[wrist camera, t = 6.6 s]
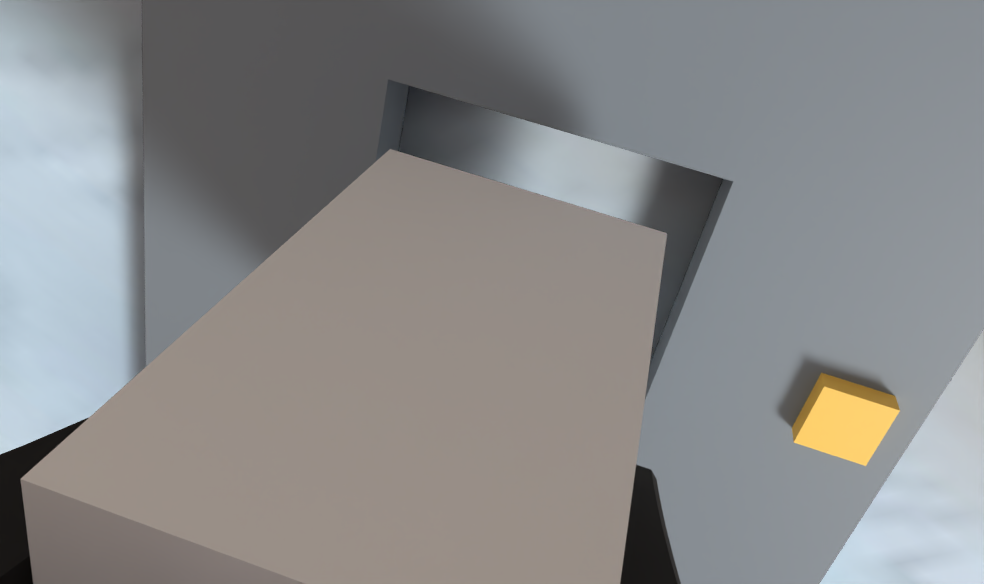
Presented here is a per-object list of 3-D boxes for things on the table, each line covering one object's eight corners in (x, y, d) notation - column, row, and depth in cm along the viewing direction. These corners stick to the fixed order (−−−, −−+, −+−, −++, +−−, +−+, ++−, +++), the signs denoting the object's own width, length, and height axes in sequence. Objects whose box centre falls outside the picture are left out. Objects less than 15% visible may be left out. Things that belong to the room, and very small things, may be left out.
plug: (667, 233, 11) (594, 773, 4) (570, 494, 13) (436, 1078, 7) (389, 149, 11) (-41, 533, 5) (347, 417, 14) (27, 902, 7)
